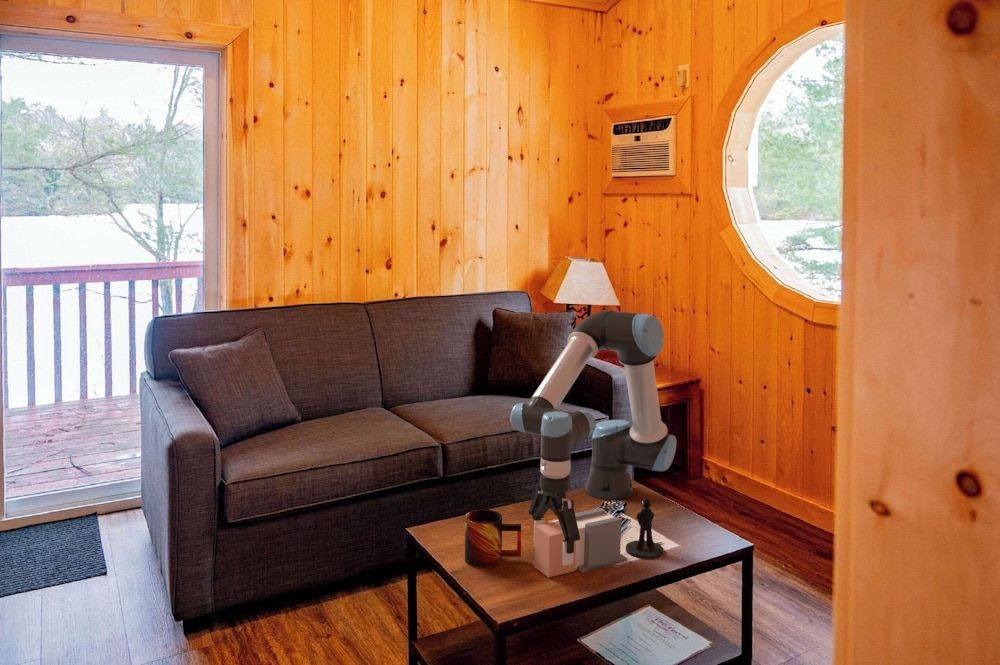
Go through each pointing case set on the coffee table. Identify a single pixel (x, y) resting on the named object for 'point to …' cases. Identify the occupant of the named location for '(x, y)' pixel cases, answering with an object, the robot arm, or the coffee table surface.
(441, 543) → the coffee table surface
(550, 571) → the stub
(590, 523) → the two-tone box
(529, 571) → the coffee table surface
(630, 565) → the coffee table surface
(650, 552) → the figurine
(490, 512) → the mug
